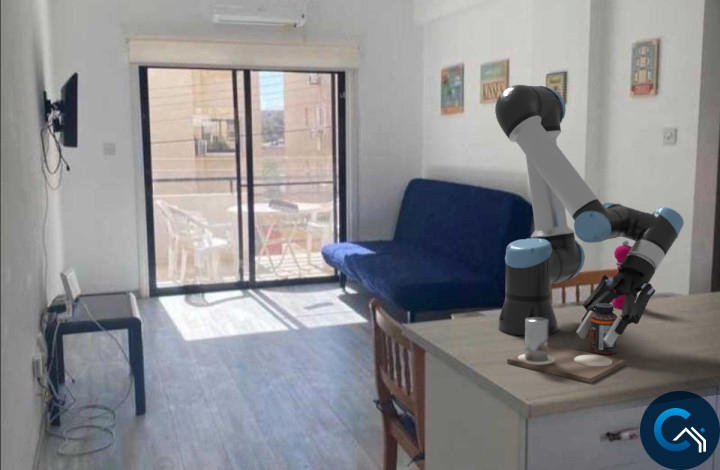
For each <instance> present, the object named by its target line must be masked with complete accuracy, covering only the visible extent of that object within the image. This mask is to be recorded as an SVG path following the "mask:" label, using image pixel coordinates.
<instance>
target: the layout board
mask: <svg viewBox="0 0 720 470" xmlns="http://www.w3.org/2000/svg"><path fill="white" fill-rule="evenodd" d="M506 363H507V364H509V365H514V366H518V367H523V368H527V369H531V370H535V371H538V372H542V373H548V374H550V375H551V374H552V375H555V376H559V377H564V378H567V379H571V380H575V381H578V382H579V381H580V382H584V383H588V384H592V383H595V381H597V380H599V379H601V378H603V377H605V376H607V375H608V374H610V373H612V372H614V371H616V370H617V369H620V368H621V367H624V366H625V365H626V360H625V359H620V358H615V357H611V356H608V355H607V356H606V355H602V354H596V353H593V352H592V353H590V352H587V351H581V350H577V349H572V348H568V347H563V346H557V345H554V344H549V343H548V360H547V361H543V362H533V361H528V360H526V359H525V351H522V352H520V353H518V354H515V355H513V356H511V357H508V358H507V359H506Z"/></svg>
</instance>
